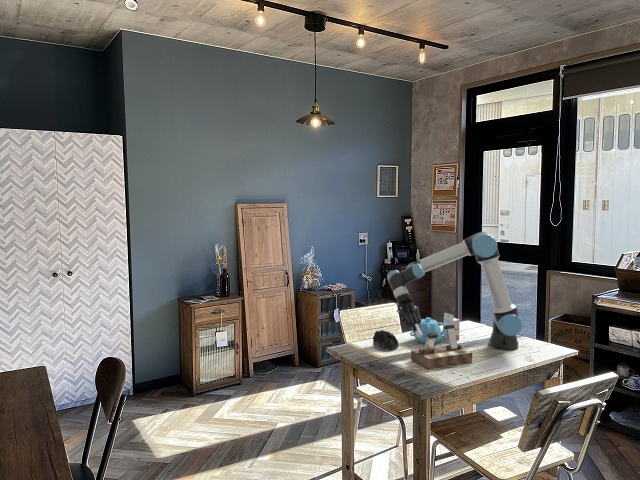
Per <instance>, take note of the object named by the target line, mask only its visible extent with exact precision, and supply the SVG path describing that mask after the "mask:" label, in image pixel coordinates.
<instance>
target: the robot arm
mask: <svg viewBox="0 0 640 480" xmlns="http://www.w3.org/2000/svg"><path fill="white" fill-rule="evenodd" d="M466 256H468V257H469V256H470V257H472V256H475V260H476V262H477V263H478V264H479V265H480V266H481V269H482V271H483V274H484V278H485V281H486V284H487V287H488V291H489V294H490V297H491V300H492V303H493V308H492V310H493V311H492V314H493V315H492V331H491V335H490V338H489V340H488V345H489V346H490V347H491V348H495V349H498V350H504V351H508V350H509V351H510V350H511V351H513V350H517V349H519V341H518V337H517V335H518V334H520V332H521V331H522V329H523V325H524V324H523V320H522V318H521V317H520V313H519V311H518V309H517V305H516V304H514V303H512V300H511V297H510V293H509V290H508V287H507V284H506V281H505V278H504V274H503V271H502V268H501V265H500V263H499V258H500V252H499V249H498V242H497V239H495V237H494V236H493V235H491V234H490V233H487V232H485V231H479V232H477V233H474V234H473V235H470V236H468V237H466V238H464V239H463V240H462V242H459V243H457V244H454V245H452V246H449V247H447V248H445V249H443V250H440V251H438V252H435V253H433V254H432V255H429V256H426V257H424V258H422V259H421V258H420V259H419V260H417V261H413V262H410V263H408V264H407V266H406V267H405V268H404V269H403V270H401V271H399V270H397V269H393V270H390V271H389V272H388V273H387V275H386V277H387V281H388V284H389V286H390V288H391V291H392V293H393V296H394V298H395V299H396V303H397V304H398V308H397V310H396V312H397V313H398V314H399V315H400V316H401V318H402V319H403V321H404V322H405V324H406V325H407V326H409V327H410V328H411V327H412V328H413V331H415V333H416V335H417V337H418V338H420V337H421V336H422V332H421V328H420V325H419V324H420V323H421V319H422V317H421V313H420V306H419V305H417V306H416V305H415V303H414V302H413V298H412V297H411V295H410V292H409V291H408V289H407V286H406V285H408V284H410V283H413V282H415V281H416V280H418V279H421V278H422V277H424V276H425V275H426V274H425V273H427V272H429V271H432V270H434V269H436V268H439V267H442V266H444V265H447V264H449V263H452V262H455V261H456V260H460V259H462V258H464V257H466ZM412 328H411V329H412ZM413 331H412V332H413Z"/></svg>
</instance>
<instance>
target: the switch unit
mask: <svg viewBox="0 0 640 480" xmlns="http://www.w3.org/2000/svg"><path fill="white" fill-rule="evenodd" d="M457 345H458V348H453V349H452V347H451V346H449V344H447V345H445V346H444V345H443V346H437V347H433V349H432V351H431V353H425V354H424V350H423V348H419V349H413V350H411V351H410V357H411V358H410V360H411V362H413V363H415V364H417V365H418V366H420V367H421V368H423V369H425V370H426V371H429V370H435V369H440V368H448V367H455V366H462V365H467V364H473V352H471V351H469V350H467V349H464V348H463V347H462V345H461V344H459V343H457Z"/></svg>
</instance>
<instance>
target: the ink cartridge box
mask: <svg viewBox="0 0 640 480" xmlns="http://www.w3.org/2000/svg"><path fill="white" fill-rule="evenodd" d="M460 321H461V320H460V319H458V318H456V317H455V316H454V314H451V313H447V312H444V314H443V324H444V325H445V326H447V325H454V327H455V328H454V331H455V335H456V340H457V341H459V340H460ZM443 333H444V334H445V335H446V337H445V338H444V339H447V334H446V330H444V332H443ZM442 336H444V335H442Z"/></svg>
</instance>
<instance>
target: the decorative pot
mask: <svg viewBox="0 0 640 480" xmlns="http://www.w3.org/2000/svg"><path fill="white" fill-rule="evenodd" d="M419 325H420V328H421V332H422V336H421V337H420V338H418V337H417V335H416V333H415V331H413V328H412V327H410V328H411V331H410V332H409V335H410V336H411V337H414V339H415V340H416V341H417V342H419V344H421V343H422V344H425V342H426V339H427V334H428V333H430V332H436V333H437V334H438V337H437V338H436V340H435V343H434V345H437V344H438V343H439V342H440V341H441V339H446V338H445V337H446V335H445V334H444V330H445V328H444V326H445V325H444V322H438V321H437V320H435V319H432V317H428V316H427V317H425V319H424V318H421V323H420V324H419ZM440 325H441V326H442V329H441V327H440ZM443 335H444V336H443Z"/></svg>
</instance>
